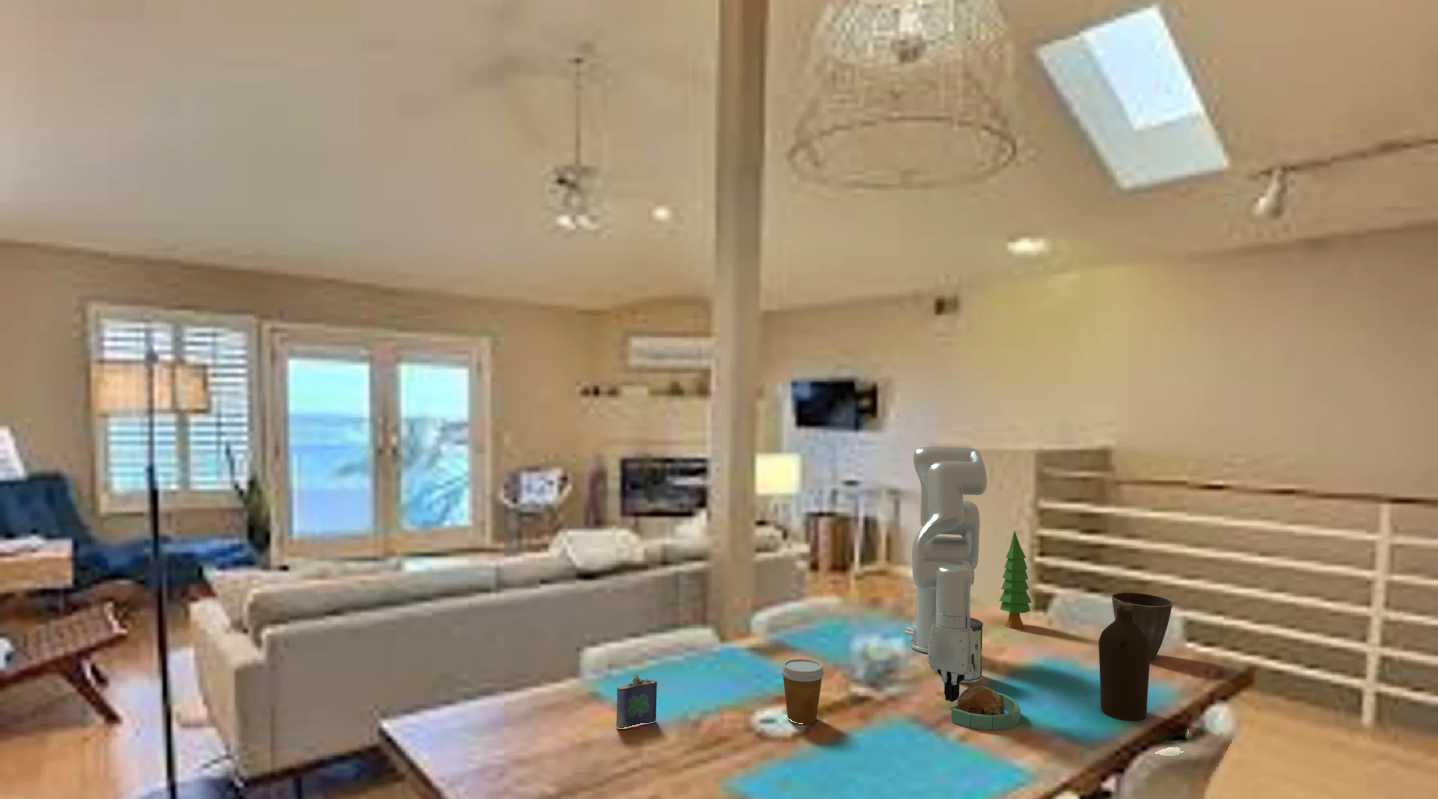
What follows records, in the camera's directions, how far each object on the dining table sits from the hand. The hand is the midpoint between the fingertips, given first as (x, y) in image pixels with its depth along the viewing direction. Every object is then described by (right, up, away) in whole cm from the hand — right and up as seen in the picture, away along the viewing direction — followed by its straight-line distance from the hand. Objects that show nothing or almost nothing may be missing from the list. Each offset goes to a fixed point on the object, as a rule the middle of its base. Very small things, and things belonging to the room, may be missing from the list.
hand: (951, 699), depth 189 cm
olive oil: (+38, -2, -3) cm, 38 cm away
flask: (-71, -1, -13) cm, 73 cm away
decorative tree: (+39, -2, +67) cm, 77 cm away
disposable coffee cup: (-35, -1, -9) cm, 37 cm away
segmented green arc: (+7, -2, -7) cm, 10 cm away
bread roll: (+5, -2, -5) cm, 8 cm away
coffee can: (+8, -2, +20) cm, 22 cm away
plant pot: (+63, -2, +38) cm, 73 cm away
